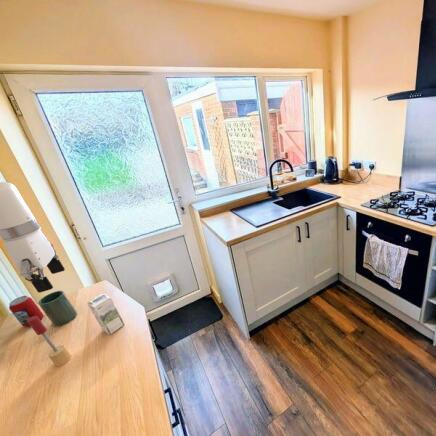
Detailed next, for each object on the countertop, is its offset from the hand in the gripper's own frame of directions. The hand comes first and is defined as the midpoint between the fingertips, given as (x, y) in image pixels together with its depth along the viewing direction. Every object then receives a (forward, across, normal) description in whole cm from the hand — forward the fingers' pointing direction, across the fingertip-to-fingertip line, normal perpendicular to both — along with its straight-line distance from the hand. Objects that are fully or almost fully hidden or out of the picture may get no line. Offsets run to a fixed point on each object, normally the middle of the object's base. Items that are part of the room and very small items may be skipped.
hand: (52, 280), depth 72 cm
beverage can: (+33, -35, -31) cm, 57 cm away
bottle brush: (+33, -4, -12) cm, 35 cm away
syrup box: (+33, -12, +2) cm, 35 cm away
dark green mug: (+33, -29, -18) cm, 47 cm away
